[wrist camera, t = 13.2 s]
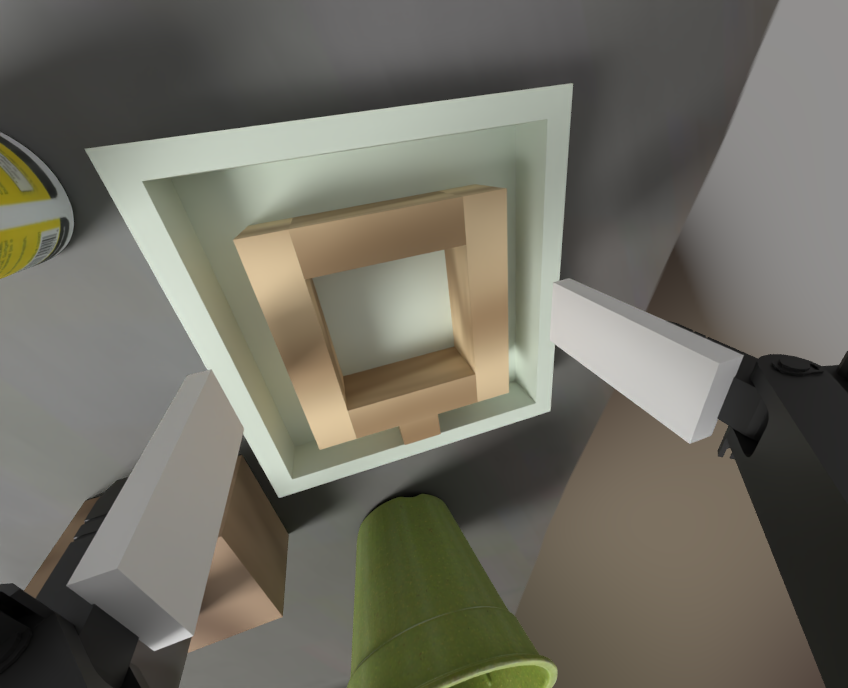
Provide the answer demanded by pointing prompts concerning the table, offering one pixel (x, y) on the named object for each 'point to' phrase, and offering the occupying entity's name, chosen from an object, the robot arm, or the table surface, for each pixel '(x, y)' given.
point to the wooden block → (215, 577)
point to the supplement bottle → (30, 210)
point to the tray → (358, 288)
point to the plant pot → (432, 608)
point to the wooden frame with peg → (373, 244)
